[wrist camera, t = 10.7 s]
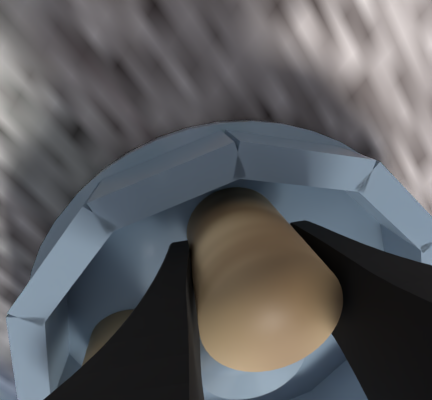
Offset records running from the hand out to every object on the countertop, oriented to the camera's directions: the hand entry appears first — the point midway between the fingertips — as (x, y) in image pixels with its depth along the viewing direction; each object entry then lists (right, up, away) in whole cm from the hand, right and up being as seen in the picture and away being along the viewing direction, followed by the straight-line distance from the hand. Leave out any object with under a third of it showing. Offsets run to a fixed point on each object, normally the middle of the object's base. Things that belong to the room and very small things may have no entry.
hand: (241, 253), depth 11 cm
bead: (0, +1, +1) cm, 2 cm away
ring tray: (0, -4, +5) cm, 6 cm away
